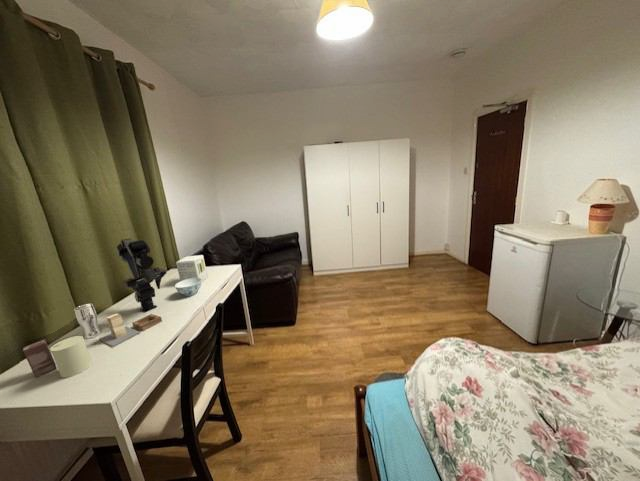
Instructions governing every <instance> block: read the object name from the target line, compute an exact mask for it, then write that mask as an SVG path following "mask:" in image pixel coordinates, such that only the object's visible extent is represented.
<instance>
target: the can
mask: <svg viewBox="0 0 640 481" xmlns="http://www.w3.org/2000/svg"><path fill="white" fill-rule="evenodd" d="M49 349H50V352H51V354H52V356H53V359H54V361H55V363H56V367H57V369H58V371H59V375H60V378H63V379H66V378H71V377H73V376H76V375H79V374H81V373H82V372H84V371H86V370H88V368H90V367H91V366H92V365H93V360H92V359H91V356H90V353H89V351H88V348H87V346H86V343H85V340H84V337H83V335H74V336H70V337H68V338H65V339H63V340H60V341H59V342H57V343H55V344H53V345H52V346H51V347H50V348H49Z"/></svg>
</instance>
